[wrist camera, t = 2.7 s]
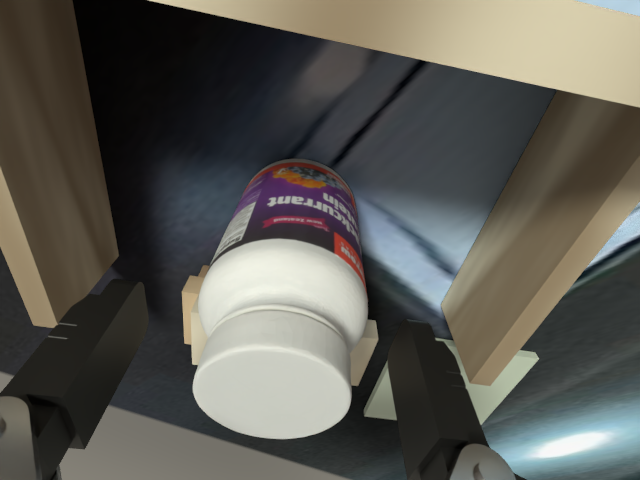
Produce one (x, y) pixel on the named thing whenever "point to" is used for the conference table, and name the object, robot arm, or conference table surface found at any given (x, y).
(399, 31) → the enclosure
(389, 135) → the conference table surface
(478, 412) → the sage mat
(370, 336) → the offcut stack
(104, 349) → the robot arm
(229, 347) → the pill bottle
